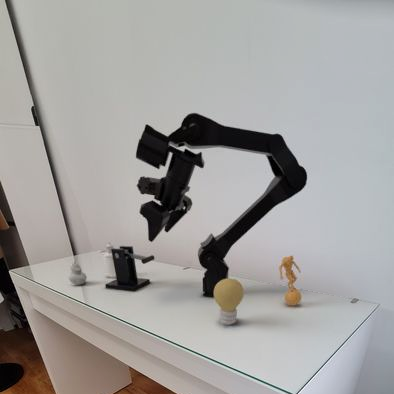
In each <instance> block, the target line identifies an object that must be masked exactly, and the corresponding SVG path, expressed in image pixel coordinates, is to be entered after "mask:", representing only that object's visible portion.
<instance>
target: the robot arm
mask: <svg viewBox="0 0 394 394" xmlns="http://www.w3.org/2000/svg"><path fill="white" fill-rule="evenodd" d="M181 147H186V148H184V150H182V149H178V148H181ZM187 148H188V149H187ZM212 148H214V149H215V148H216V149H217V148H221V149H227V150H233V151H240V152H245V153H252V154H257V155H264V156H265V157H266V159H267V162H268V164H269V166H270V170H271V172H272V174H273V175H274V177H273V178H272V180H271V181H270V182H269V184H268V186H267V188H266V189H265V190H264V192H263V193H262V195H260V196H259V198H257V199H256V200H255V201H254V202H253V203H252V204H251V205H250V206H249V207H248V208H247V209H245V210H244V211H243V212H242V213H241V214H240V215H239V216H238V217H237V218H236V219H235V220H234V221H233V222H232V223H231V224H230V225H228V227H227V228H226V229H224V231H222V232H221V233H220V234H218V235H216V236H214V234H213V233H210V234H209V235H208V236H207V237H206V239H205V240H204V241H202V242H200V243H199V244H200V246H199V248H198V250H197V259H198V261H199V264H200V266H201V267H202V268H203V269H205V271H204V273H203V277H202V292H203V294H202V296H203V297H213V298H214V288H215V286H216V284H217V283H218V282H220V281H221V280H223V279H228V278H229V270H230V267H229V266H228V263H227V262H226V261H225V258H226V257H227V255H228V253H229V251H230V250H231V248H232V247H233V246H234V245H236V243H237V242H238V241H239V240H240V239H242V238H243V237H244V236H245V235H246V234H247V233H248V232H249V231H250V230H251V229H252V228H253V227H254V226H256V224H258V223H259V222H260V221H261V220H262V219H263V218H264V217H265V216H266V215H267V214H268V213H270V212H271V211H272V210H273V209H274V208H275V207H276V206H278V205H280V204H282V203H283V202H286V201H287V200H289V199H291V198H292V197H294V196H295V195H297V194H299V193H300V192H302V191H303V189H305V187H306V185H307V181H308V173H307V172H308V171H307V169H306V168H305V167H304V166H302V165H300V164H299V160H297V157H296V156H295V154H294V153H293V152H292V150H291V149H290V148H289V146H288V145H287V143H286V140H285V138H284V136H282V135H281V134H280V133H268V132H262V131H257V130H251V129H245V128H239V127H233V126H228V125H223V124H221V123H219V122H217V121H215V120H213V119H212V118H210V117H207V116H204V115H202V114H199V113H198V112H191V113H188V114H187V115H186V116H185V117H184V118H183V119H182V121H181V125H180V126H179V127H178V128H177V129H175V130H174V131H173V132H171V133H170V134H168V135H166V134H164V133H162V132H160V131H158V130H156V129H155V128H154V127H153V126H151V125H149V124H147V123H146V124H145V125H144V130H143V131H142V134H141V136H140V138H139V139H138V142H137V146H136V151H135V152H136V153H135V159H137V160H139V161H141V162H143V163H145V164H146V165H149V166H151V167H152V168H155V169H157V170H160V169H161V168H162V167H164V168H166V166H167V164H168V166H167V169H166V174H165V176H163V177H160V178H156V177H152V176H151V177H150V176H140V177H139V179H138V180H137V182H138V183H137V184H136V187H137V190H138V191H139V192H140V195H147V196H148V195H149V196H153V200H149V201H147V202H144V203H141V204H140V208H139V214H140V215H141V216H142V217H143V218H144V219H145V220H146V221H147V231H148V232H147V237H148V242H150V243H152V242H154V241H155V240H156V238H157V237H158V236H159V235H160V233H161V232H162V231H163V230H164V232H165V233H167V234H168V233H169V232H170V231H171V230H172V229H173V228H174V227H175V226H176V225H177V224H178V223H179V222H180V221H181V220H182V219H183V218H184V217H185V216H186V215H187V214H188V212H189V211H191V209H192V206H193V201H192V198H190V197H189V196H188V195H186V193H188V192H189V191H190V189H191V187H190V186H189V184H190V182H191V179H192V176H193V173H194V171H195V168H196V167H198V168H200V169H204V167H205V164H206V163H205V160H204V158H203V152H202V151H199V152H198V153H195V152H193V151H191V150H205V149H212ZM170 154H171V157H170ZM169 158H170V160H169ZM168 160H169V163H168ZM155 200H156V201H155ZM158 202H159V203H158Z"/></svg>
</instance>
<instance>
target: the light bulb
mask: <svg viewBox="0 0 394 394" xmlns="http://www.w3.org/2000/svg"><path fill="white" fill-rule="evenodd" d="M244 295H245V292H244V287H243V285H242V283H241V282H240V281H238V280H237V279H234V278H229V277H228V279H223V280H221V281H220V282H218V283H217V284H216V286H215V288H214V297H213V298H214V302H215V303H216V305H218V307H219V308H220V309H219V322H220V323H222V325H227V326H229V325H233V324H235V323H236V322H237V316H238V314H237V312H238V310H237V308H238V307H239V305H240V304H241V303H242V300H243V298H244Z"/></svg>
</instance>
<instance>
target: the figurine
mask: <svg viewBox="0 0 394 394" xmlns="http://www.w3.org/2000/svg"><path fill="white" fill-rule="evenodd" d="M293 265H294V267H295V268H296V269H297V270H298V273H299V274H301V273H302V272H301V269H300V268H299V266H298V265H297V264H296V262H295V260H294V256H293V255H292V254H291V255H290V256H285V257H283V258H282V260H281V264H280V265H279V267H278V269H279V278H280V280H284V278H286V279H287V280H288V281H287V282H286V284H287V288H288V291H287V292H286V293H285V294H284V302H285V303H286V304H287V305H289V306H291V307H293V306H297V305H298V304H299V303H301V301H302V293H301V291H299V290H298V289H297V288H296V287H295V286H294V283H295V282H296V281H297V280H298V277H297V276H296V274H295V272H294V270H293V269H292V268H293ZM282 268H283V269H284V270H285V274H284V276H285V277H284V276H283V270H282Z"/></svg>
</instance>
